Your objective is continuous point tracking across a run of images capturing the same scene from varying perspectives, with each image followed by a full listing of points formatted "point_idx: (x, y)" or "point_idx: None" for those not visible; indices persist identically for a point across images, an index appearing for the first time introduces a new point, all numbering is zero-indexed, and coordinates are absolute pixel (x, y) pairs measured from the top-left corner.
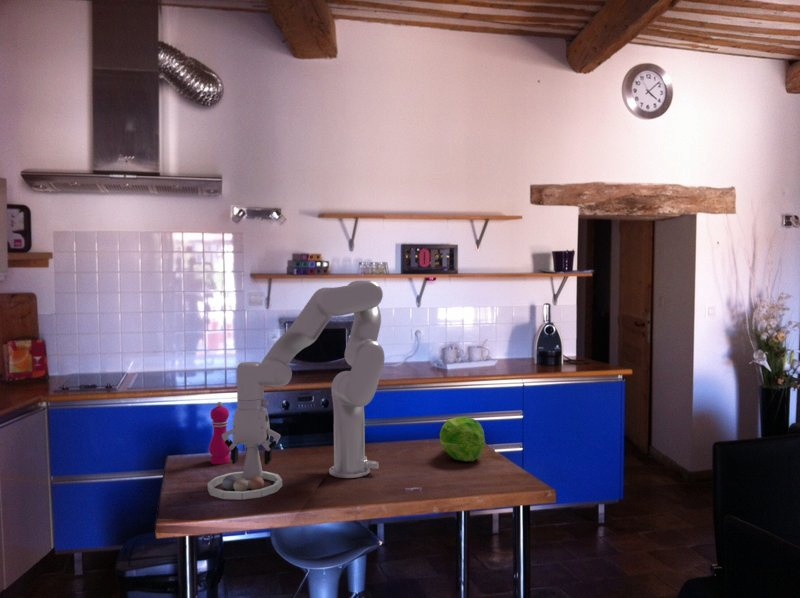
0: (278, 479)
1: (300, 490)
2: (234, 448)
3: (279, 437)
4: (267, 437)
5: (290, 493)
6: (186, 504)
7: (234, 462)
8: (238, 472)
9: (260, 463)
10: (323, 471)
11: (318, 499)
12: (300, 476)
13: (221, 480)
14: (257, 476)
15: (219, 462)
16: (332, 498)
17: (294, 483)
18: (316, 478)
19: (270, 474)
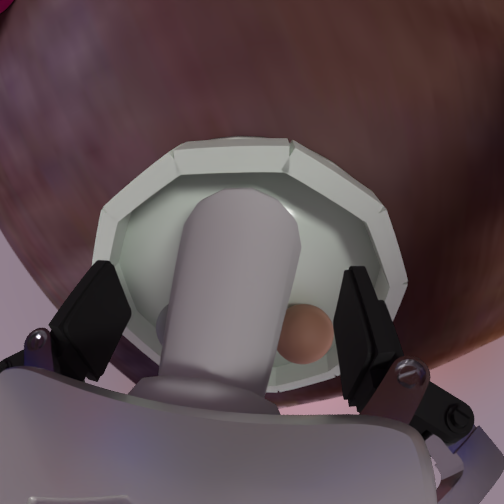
0: (392, 284)
1: (451, 253)
2: (83, 377)
3: (486, 460)
4: (395, 449)
5: (418, 284)
6: (140, 360)
7: (128, 318)
8: (133, 192)
9: (289, 276)
10: (498, 17)
11: (474, 314)
12: (442, 60)
13: (114, 259)
14: (308, 358)
15: (6, 4)
16: (500, 302)
17: (434, 168)
18: (499, 106)
19: (341, 205)
